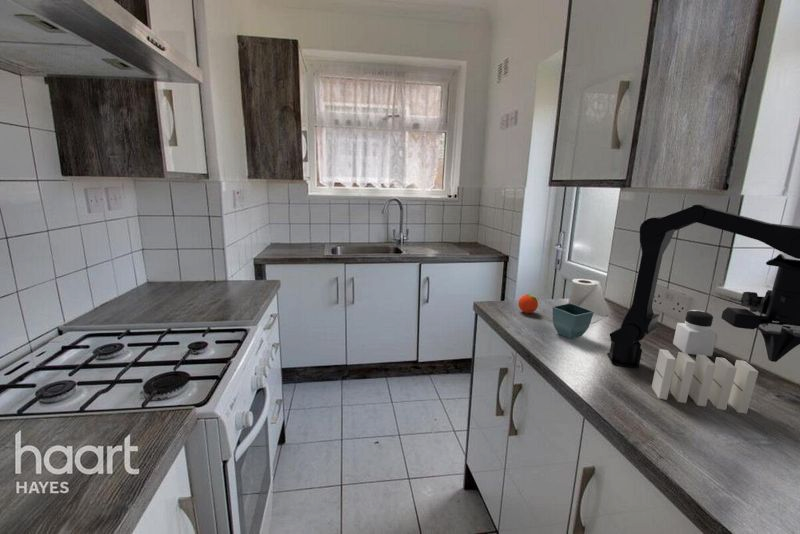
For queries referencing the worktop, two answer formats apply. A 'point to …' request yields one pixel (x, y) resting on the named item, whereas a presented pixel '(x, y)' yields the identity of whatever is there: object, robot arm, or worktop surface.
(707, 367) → the domino
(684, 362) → the domino
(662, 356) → the domino
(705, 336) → the medicine bottle
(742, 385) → the domino
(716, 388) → the domino
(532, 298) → the clementine
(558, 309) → the flower pot
